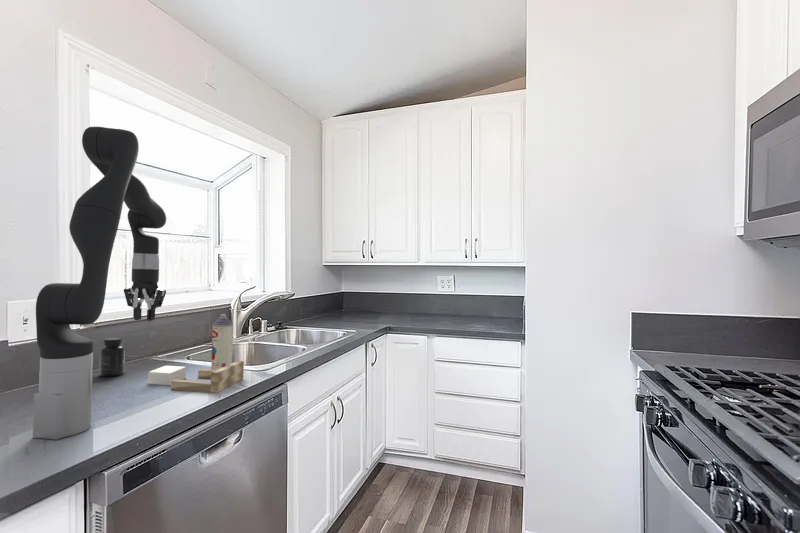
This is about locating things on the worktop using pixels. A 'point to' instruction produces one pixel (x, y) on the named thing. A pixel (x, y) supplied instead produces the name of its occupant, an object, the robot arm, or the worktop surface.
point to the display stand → (212, 379)
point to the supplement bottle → (112, 358)
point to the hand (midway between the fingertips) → (144, 319)
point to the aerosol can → (222, 342)
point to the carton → (166, 375)
